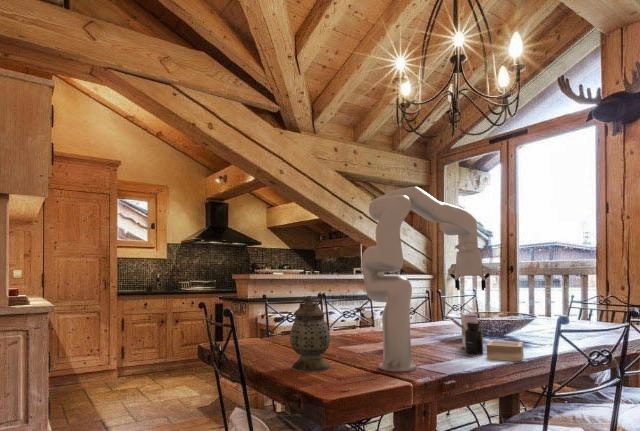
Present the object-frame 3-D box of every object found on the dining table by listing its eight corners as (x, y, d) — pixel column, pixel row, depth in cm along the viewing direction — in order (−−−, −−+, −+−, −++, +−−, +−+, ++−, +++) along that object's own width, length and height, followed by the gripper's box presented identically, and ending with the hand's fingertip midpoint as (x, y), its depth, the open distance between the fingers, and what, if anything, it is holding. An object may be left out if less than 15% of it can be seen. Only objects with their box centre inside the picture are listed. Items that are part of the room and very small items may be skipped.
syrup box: (480, 349, 198) (478, 314, 200) (465, 349, 198) (464, 314, 200) (475, 347, 204) (474, 312, 205) (461, 347, 204) (460, 312, 205)
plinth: (521, 361, 173) (521, 346, 174) (487, 358, 178) (486, 344, 179) (523, 355, 184) (522, 341, 184) (490, 353, 189) (490, 340, 189)
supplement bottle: (465, 354, 187) (464, 323, 189) (465, 351, 194) (464, 321, 195) (483, 355, 185) (482, 323, 187) (483, 352, 192) (481, 321, 193)
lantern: (339, 367, 166) (337, 295, 168) (309, 374, 156) (308, 297, 159) (311, 362, 176) (310, 294, 178) (281, 368, 166) (281, 296, 168)
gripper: (445, 248, 194) (447, 290, 193) (489, 246, 187) (492, 290, 185) (448, 248, 201) (450, 289, 200) (491, 247, 194) (494, 289, 192)
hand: (470, 290), depth 192 cm, fingers open, 9 cm apart
